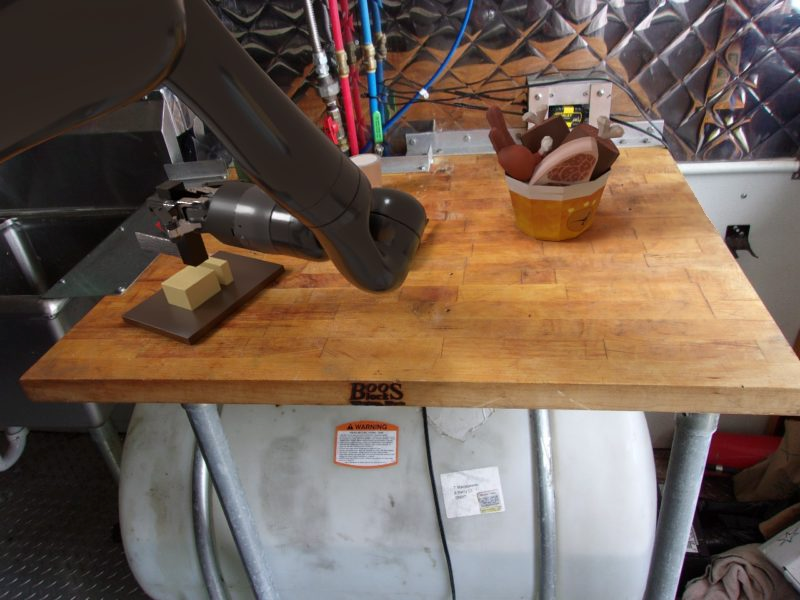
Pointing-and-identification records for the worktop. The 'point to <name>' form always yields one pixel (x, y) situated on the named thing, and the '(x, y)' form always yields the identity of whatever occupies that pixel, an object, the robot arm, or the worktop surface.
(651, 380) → the worktop surface
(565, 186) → the bucket of meat
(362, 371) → the worktop surface
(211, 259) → the butter pat
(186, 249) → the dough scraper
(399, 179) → the worktop surface
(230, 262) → the board
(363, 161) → the shot glass
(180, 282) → the butter block
